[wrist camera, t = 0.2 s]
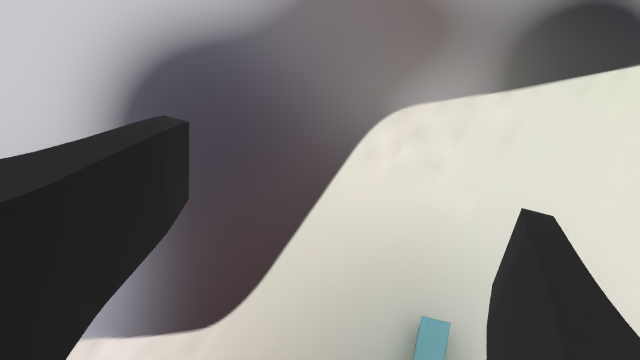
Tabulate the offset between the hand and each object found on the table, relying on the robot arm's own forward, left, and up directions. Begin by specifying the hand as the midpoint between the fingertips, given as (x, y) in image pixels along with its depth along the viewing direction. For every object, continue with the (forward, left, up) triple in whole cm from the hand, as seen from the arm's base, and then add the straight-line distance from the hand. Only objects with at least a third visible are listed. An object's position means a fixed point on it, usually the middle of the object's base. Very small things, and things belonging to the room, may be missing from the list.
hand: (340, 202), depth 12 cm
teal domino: (-3, -3, -31) cm, 31 cm away
